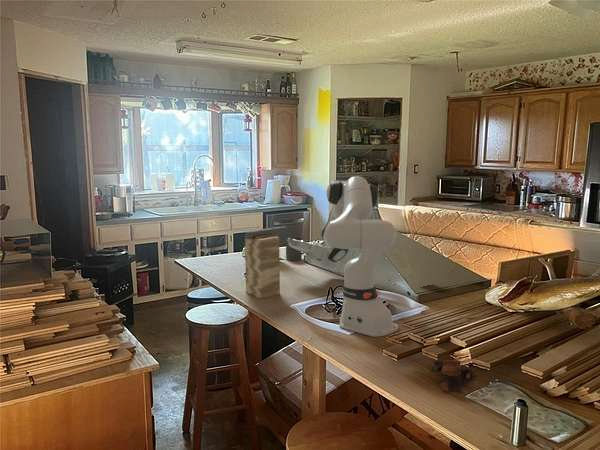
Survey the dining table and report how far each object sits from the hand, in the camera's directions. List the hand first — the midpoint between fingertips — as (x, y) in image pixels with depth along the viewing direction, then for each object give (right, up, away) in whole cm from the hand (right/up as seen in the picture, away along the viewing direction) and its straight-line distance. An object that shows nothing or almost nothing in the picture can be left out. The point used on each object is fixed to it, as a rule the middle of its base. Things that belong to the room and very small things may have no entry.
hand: (294, 240), depth 224 cm
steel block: (-12, +3, -11) cm, 17 cm away
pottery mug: (+45, -37, -91) cm, 108 cm away
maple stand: (-14, -23, -8) cm, 29 cm away
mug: (+1, -13, +57) cm, 58 cm away
